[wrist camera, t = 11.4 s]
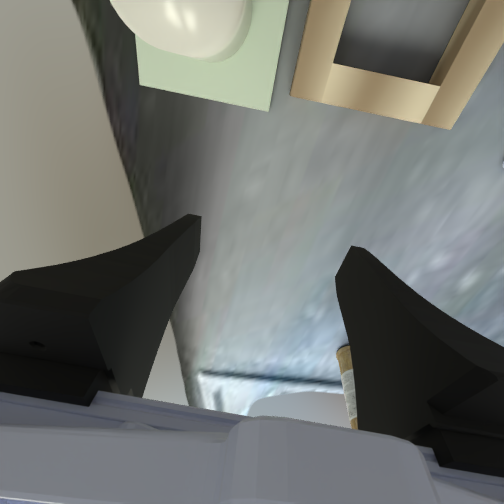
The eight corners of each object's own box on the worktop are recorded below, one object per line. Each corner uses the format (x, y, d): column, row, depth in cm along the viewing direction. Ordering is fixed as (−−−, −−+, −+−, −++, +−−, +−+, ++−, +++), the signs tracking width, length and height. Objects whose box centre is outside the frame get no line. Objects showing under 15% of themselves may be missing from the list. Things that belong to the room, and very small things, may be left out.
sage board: (307, -97, 12) (308, -104, 11) (268, 110, 17) (268, 111, 17) (125, -139, 12) (118, -148, 11) (143, 84, 17) (140, 84, 17)
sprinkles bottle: (374, 357, 34) (419, 489, 23) (342, 364, 35) (369, 490, 25) (363, 339, 32) (406, 476, 21) (329, 347, 33) (354, 478, 23)
